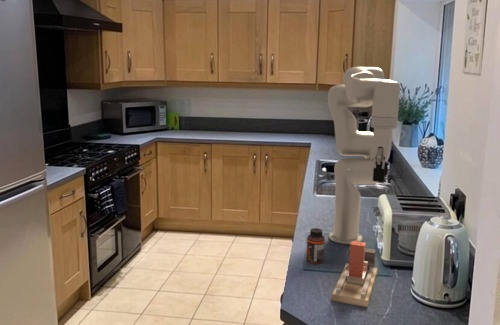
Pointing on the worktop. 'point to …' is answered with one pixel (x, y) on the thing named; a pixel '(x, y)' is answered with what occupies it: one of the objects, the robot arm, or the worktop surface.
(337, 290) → the base
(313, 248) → the supplement bottle
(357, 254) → the handle
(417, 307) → the worktop surface
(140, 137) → the worktop surface
